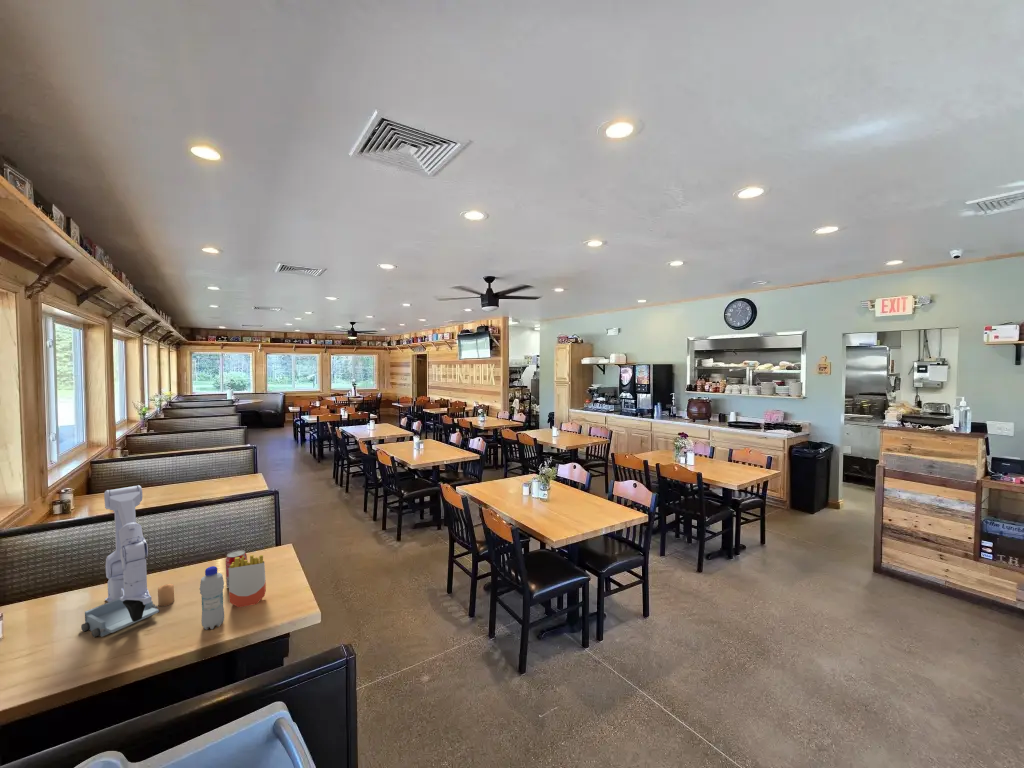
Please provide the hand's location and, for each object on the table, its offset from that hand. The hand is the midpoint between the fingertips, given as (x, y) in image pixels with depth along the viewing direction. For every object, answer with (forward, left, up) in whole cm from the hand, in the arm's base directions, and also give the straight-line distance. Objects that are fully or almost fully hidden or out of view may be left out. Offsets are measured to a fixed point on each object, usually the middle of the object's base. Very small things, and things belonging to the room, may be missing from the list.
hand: (137, 619), depth 143 cm
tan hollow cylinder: (-10, +13, -3) cm, 16 cm away
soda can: (+1, +32, -3) cm, 32 cm away
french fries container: (+17, +26, -3) cm, 32 cm away
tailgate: (-5, 0, -1) cm, 5 cm away
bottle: (+20, +12, -3) cm, 24 cm away
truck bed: (-11, 0, -3) cm, 11 cm away
